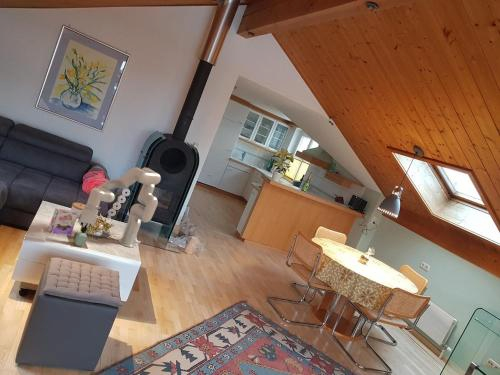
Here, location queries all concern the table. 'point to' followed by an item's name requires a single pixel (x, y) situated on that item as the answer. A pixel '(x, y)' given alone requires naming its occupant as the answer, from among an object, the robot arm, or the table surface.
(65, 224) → the candy box
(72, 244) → the walnut board
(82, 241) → the mint green cube
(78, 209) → the lidded bowl
